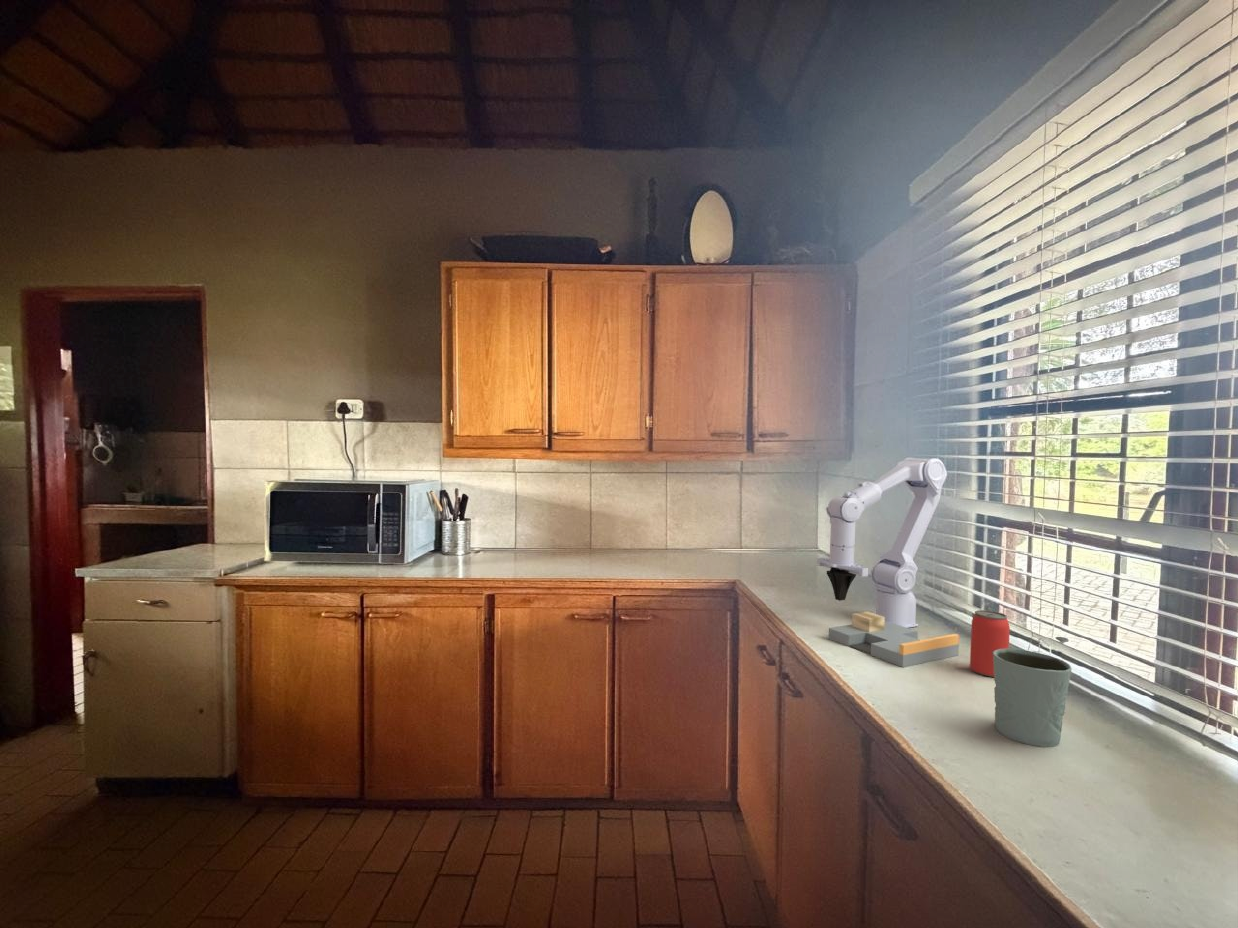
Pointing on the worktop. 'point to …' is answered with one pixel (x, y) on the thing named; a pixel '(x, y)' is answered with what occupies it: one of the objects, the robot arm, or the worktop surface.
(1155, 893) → the worktop surface
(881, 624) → the birch block
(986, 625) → the beer can
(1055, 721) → the grey green oval vase
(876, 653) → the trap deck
